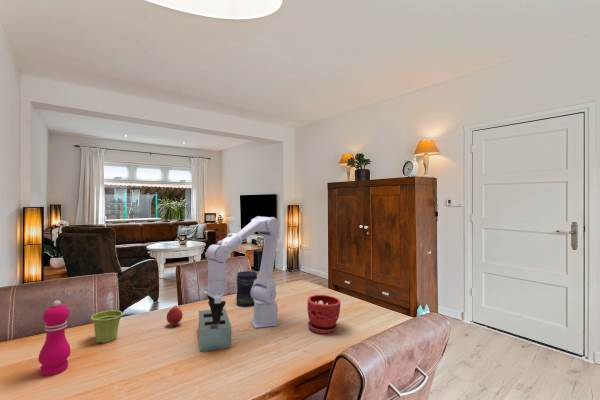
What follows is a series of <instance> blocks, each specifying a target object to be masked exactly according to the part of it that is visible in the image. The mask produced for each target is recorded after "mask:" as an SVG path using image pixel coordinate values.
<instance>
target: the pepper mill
mask: <svg viewBox="0 0 600 400" xmlns="http://www.w3.org/2000/svg"><path fill="white" fill-rule="evenodd" d="M61 303H62V302H61V301H60V300H58V299H57V300H55V301H53V303H52V306H50V307H48V308H47V309H46V310H45V311H44V312H43V314H42V321H43V322H44V323H45V325H44V331H45V333H46V336H45V341H44V343H43V346H42V347H41V350H40V352H39V353H38V354H39V355H38V363H39V364H41V366H40V369H39V375H41V376H42V377H43V376H44V377H48V376H50V377H51V376H55V375H58V374H60V373H62V372H64V371H66V370H67V369H68V368H69V367H68V366H69V360H68V358H69V357H70V355H71V354H72V353H71V351H72V350H71V346H70V344H69V341H68V340H67V337H66V333H65V330H66V328H67V326H68V321H67V320H68V318H69V317H70V309H69V308H68V307H67V306H66V305H62V304H61Z"/></svg>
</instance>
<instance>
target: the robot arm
mask: <svg viewBox="0 0 600 400" xmlns="http://www.w3.org/2000/svg"><path fill="white" fill-rule="evenodd" d="M279 228H280V222H279V221H278V219H277V218H276V217H275V216H270V217H269V216H260V215H257V216H255V217H254V218H251V220H250V222H249V223H248V224H246V225H245V226H244V227H243V228H242V229H240V230H239V231H238V232H237V233H236V232H232V233H230V232H229V233H228V234H227V235H226V236H225V238H224V237H223V239H221V240H218V241H217V243H216V244H211V245H209V246H208V247H207V248H206V249H207V250H206V252H204V256H205V258H206V259H207V264H208V265H207V266H208V269H207V271H208V273H207V291H204V292H203V295H205V296H206V298H207V299H208V300H209V301H208V306H209V307H210V308H209V309H210V310H211V314H212V319H213V322H219V321H220V318H221V313H222V310H223V309H224V308H225V306H226V300H222V298H223V297H224V295H225V294H226V291H225V290H226V289H225V286H226V285H225V284H226V282H225V280H226V261H228V259H229V257H230V255H231V254H232V253H233V252H234V251H235V250H237V249H238V248H239V247H241V246H242V244H243V241H245V240H246V239H248V238H249V237H250V236H252V235H253V234H255V233H256V232H257V233H258V234H259V235H261V236H262V238H263V239H264V243H263V247H262V248H263V249H262V254H261V255H262V256H261V261H260V267H259V273H258V276H257V279H256V280H255V281H254V284H253V287H252V288H251V297H252V298H253V301H254V306H253V319H251V320H250V321H251V323H252V326H253V327H254V328H255V329H260V328H267V327H274V326H279V324H278V315H279V313H278V303H277V301H276V300H275V299H276V297H277V291H276V289H277V287H276V286H277V284H276V283H275V281H274V280H273V272H274V267H275V260H276V253H277V248H278V241H279V230H280V229H279Z"/></svg>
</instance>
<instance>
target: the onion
mask: <svg viewBox="0 0 600 400" xmlns="http://www.w3.org/2000/svg"><path fill="white" fill-rule="evenodd" d="M182 319H183V312H182V310H181V309H180V308H178V305H177V304H175V305H173V307H172V308H170V309H169V311H168V312H167V314H166V321H167V323H168V324H170V325H171V326H173V327H174V326H177V324H179V323H180V322H181V321H182Z"/></svg>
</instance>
